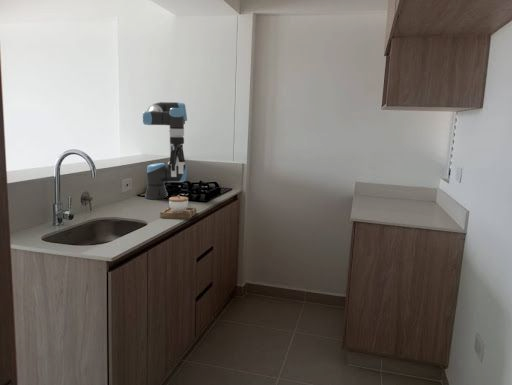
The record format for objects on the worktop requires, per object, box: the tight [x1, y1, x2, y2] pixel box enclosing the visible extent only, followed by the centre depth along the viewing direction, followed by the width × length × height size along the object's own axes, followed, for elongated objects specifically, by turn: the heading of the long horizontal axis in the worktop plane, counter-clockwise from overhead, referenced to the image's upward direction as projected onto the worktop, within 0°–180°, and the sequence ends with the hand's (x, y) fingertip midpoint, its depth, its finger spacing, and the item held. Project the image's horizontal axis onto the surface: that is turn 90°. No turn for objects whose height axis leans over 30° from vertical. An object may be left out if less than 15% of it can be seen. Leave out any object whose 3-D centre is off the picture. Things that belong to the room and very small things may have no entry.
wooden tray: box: [159, 206, 197, 220], centre depth 238 cm, size 16×16×3 cm
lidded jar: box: [168, 194, 189, 213], centre depth 237 cm, size 11×11×9 cm
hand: (177, 175), depth 235 cm, fingers open, 13 cm apart
